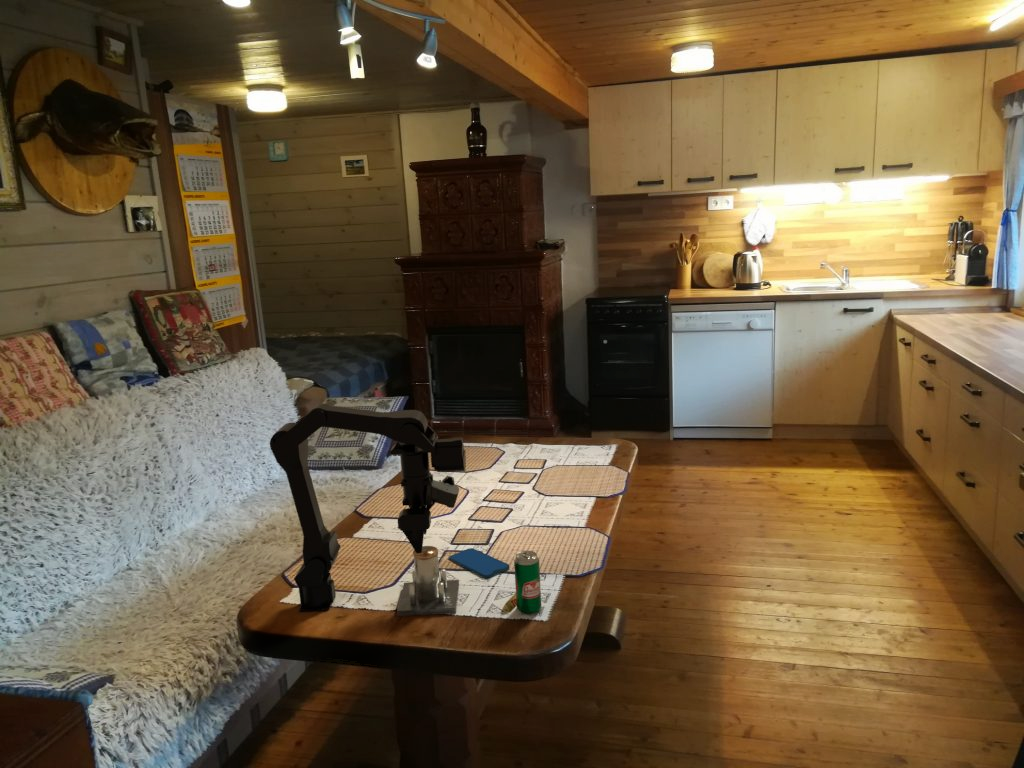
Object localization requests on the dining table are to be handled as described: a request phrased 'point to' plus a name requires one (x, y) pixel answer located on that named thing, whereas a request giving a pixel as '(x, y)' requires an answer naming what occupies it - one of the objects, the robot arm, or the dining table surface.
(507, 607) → the chocolate bar
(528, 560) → the soda can
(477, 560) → the smartphone
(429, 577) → the canister
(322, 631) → the dining table surface
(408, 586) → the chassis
